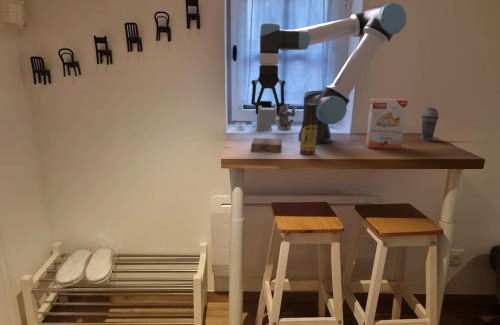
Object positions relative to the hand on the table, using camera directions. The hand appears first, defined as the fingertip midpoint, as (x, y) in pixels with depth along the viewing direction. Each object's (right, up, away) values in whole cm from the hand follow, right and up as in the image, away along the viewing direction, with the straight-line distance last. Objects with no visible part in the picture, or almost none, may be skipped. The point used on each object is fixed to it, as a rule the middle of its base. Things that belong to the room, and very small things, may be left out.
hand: (267, 122), depth 153 cm
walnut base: (0, -11, +3) cm, 11 cm away
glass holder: (-1, 0, +41) cm, 41 cm away
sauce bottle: (+16, -13, -4) cm, 21 cm away
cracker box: (+51, -10, +7) cm, 52 cm away
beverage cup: (+77, -7, +22) cm, 80 cm away
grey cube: (0, 0, 0) cm, 1 cm away
